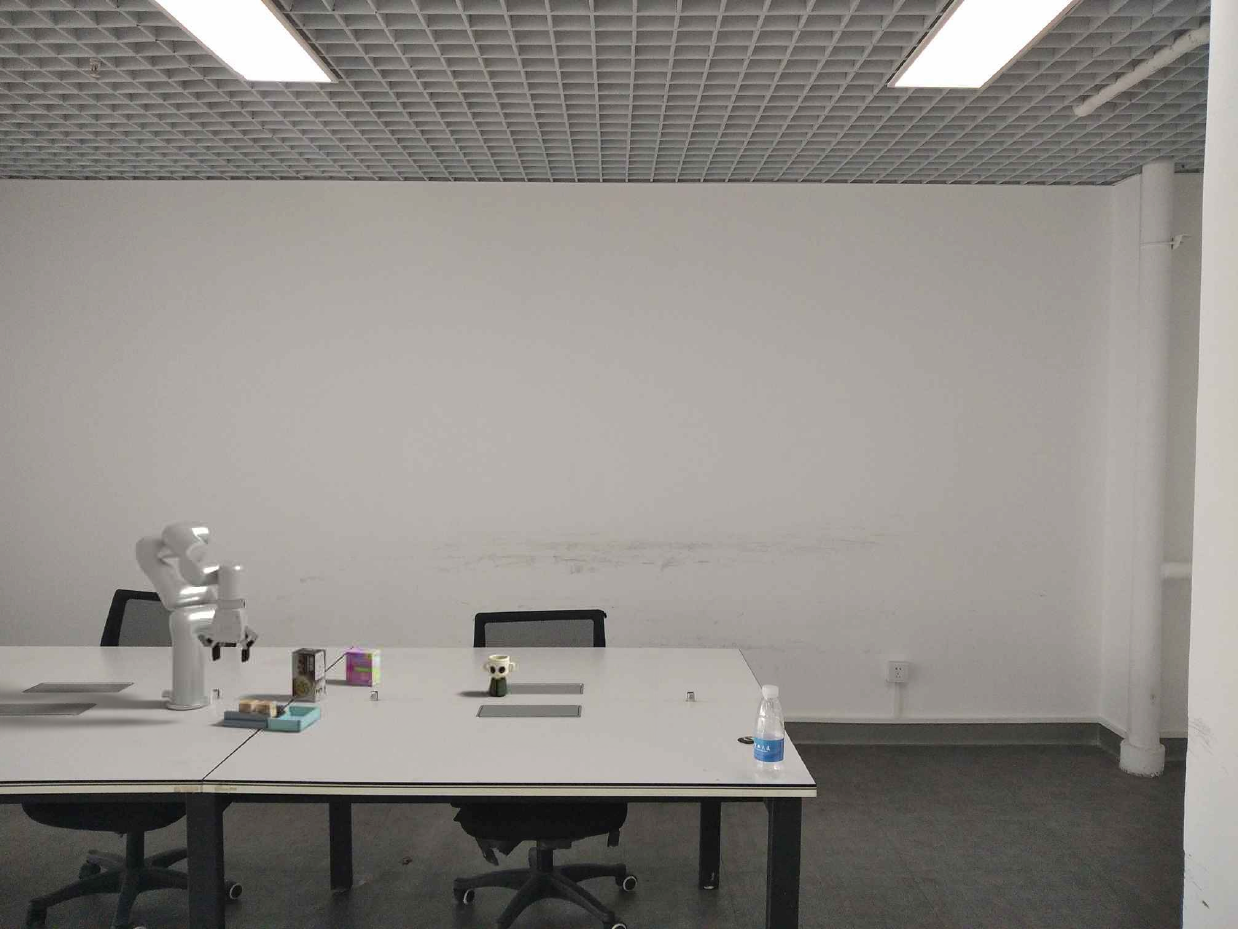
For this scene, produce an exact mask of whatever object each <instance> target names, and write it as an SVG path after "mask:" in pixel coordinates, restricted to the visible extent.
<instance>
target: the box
mask: <svg viewBox="0 0 1238 929" xmlns="http://www.w3.org/2000/svg"><path fill="white" fill-rule="evenodd" d="M380 682H381V650H380V649H371V648H370V649H368V648H357V647H353V648H351V649H348V650H346V651H345V685H351V686H364V687H365V686H366V687H374V686H376V685H378V684H379V683H380Z"/></svg>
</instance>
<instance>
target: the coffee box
mask: <svg viewBox="0 0 1238 929" xmlns="http://www.w3.org/2000/svg"><path fill="white" fill-rule="evenodd" d="M326 651H327V649H323V648H322V649H320V648H312V647H311V648H309V647H301V648H299V649H296V650H294V651H292V652H291V662H292V663H291V681H292V682H291V683H292V684H291V685H292V686H291V700H292V701H302V702H313V703H317V702H319V701H320V700H323V699H325V698H326V697H327V696H326V686H327V685H326V680H327V679H326V678H327V676H326V675H327V674H326V669H327V668H326V664H327V662H326V660H327V659H326V657H327V656H326V655H327V654H326V653H327V652H326Z"/></svg>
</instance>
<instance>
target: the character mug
mask: <svg viewBox="0 0 1238 929" xmlns="http://www.w3.org/2000/svg"><path fill="white" fill-rule="evenodd" d="M515 664H516V663H515V662H510V656H509V655H506V654H493V655H489V656H488V661H483V662H482V670H483V672H488V675H489V677H491V678H490V683H489V690H488V694H489V695H491V696H496V694H497V696H505V695H507V694H508V684H507V683H508V682H507V678H506V677H509V674H510V673H514V672H515V670H516V669H515V668H516V667H515ZM487 665H488V668H486V667H487ZM510 666H511V669H510Z"/></svg>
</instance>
